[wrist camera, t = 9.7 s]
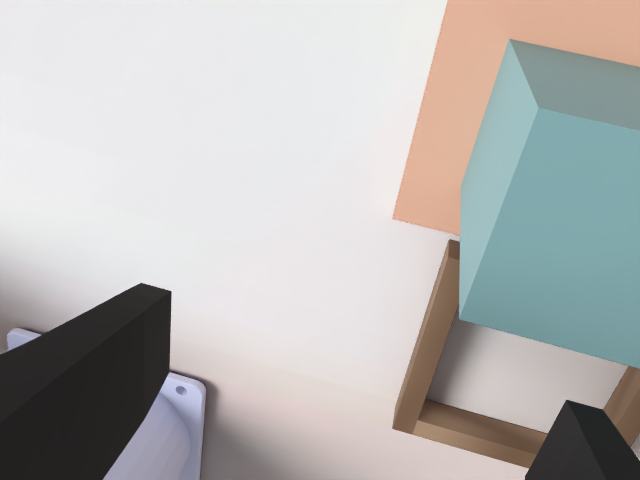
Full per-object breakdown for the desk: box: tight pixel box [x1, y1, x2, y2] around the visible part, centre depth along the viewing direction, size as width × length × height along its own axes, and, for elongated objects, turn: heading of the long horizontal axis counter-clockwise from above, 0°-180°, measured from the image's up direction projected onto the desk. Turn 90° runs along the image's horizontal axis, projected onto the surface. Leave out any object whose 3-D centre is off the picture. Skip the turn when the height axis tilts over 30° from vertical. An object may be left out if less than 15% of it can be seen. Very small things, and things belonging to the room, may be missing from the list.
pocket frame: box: [392, 240, 640, 468], centre depth 20 cm, size 8×8×1 cm
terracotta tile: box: [392, 0, 640, 235], centre depth 16 cm, size 8×8×1 cm
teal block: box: [459, 39, 640, 369], centre depth 13 cm, size 4×4×7 cm
